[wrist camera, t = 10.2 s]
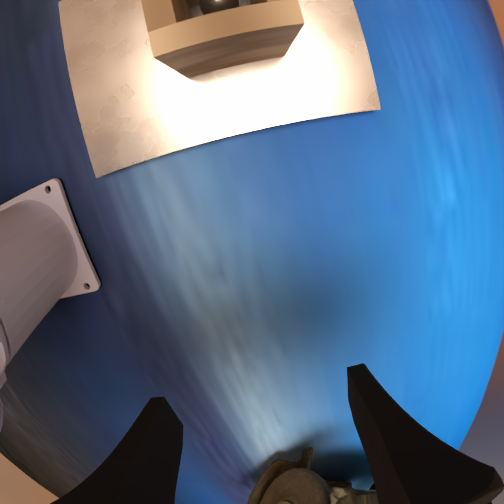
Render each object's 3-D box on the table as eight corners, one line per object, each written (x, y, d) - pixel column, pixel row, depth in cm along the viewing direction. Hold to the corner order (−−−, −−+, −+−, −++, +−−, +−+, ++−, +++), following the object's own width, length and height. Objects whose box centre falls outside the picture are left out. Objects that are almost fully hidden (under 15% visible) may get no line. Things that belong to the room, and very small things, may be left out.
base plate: (103, 174, 17) (57, 197, 12) (66, 6, 12) (19, -14, 7) (373, 109, 15) (418, 109, 11) (320, -63, 11) (341, -107, 6)
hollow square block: (187, 78, 14) (153, 57, 8) (168, -1, 12) (131, -49, 6) (284, 56, 13) (305, 23, 8) (262, -23, 11) (268, -81, 6)
